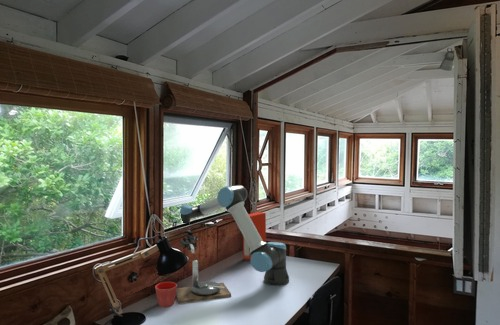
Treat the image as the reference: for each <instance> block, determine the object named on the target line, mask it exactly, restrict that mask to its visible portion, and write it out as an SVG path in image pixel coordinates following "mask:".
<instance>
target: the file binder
mask: <svg viewBox="0 0 500 325" xmlns="http://www.w3.org/2000/svg"><path fill="white" fill-rule="evenodd" d="M248 215H249V216H250V218H251V220H252V222H253V224H254V226H255V227H256V229H257V231H258V233H259V235H260V236H261V238H262V240H263V242H266V243H267V232H266V231H267V228H266V226H267V223H266V222H267V221H266V220H267V219H266V216H267V215H266V212H260V211H259V212H258V211H257V212H253V213H248ZM242 259H243V260H245V261H247V262H248V261H249V262H250V260H251V255H250V247H249V245H248V243H247V242H246V240H245V238H244V236H243V235H242Z"/></svg>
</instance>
